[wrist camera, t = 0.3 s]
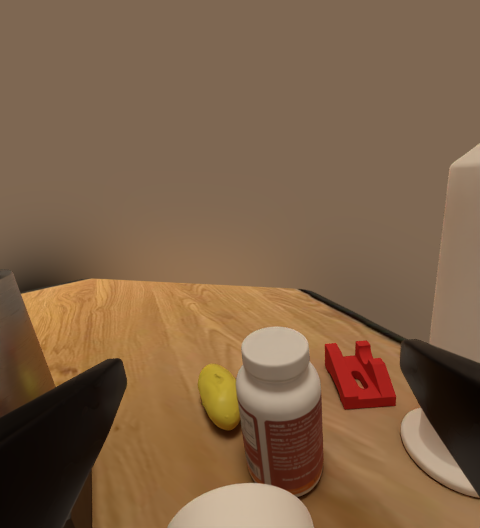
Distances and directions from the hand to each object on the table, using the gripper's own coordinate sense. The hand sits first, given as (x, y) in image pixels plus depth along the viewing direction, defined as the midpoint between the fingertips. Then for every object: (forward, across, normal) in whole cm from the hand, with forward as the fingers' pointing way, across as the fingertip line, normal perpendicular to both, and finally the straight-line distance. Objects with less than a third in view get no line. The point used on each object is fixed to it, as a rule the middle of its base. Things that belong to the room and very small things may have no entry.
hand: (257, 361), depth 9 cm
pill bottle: (+10, -1, +16) cm, 19 cm away
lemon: (+16, +5, +16) cm, 23 cm away
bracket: (+18, -10, +16) cm, 26 cm away
